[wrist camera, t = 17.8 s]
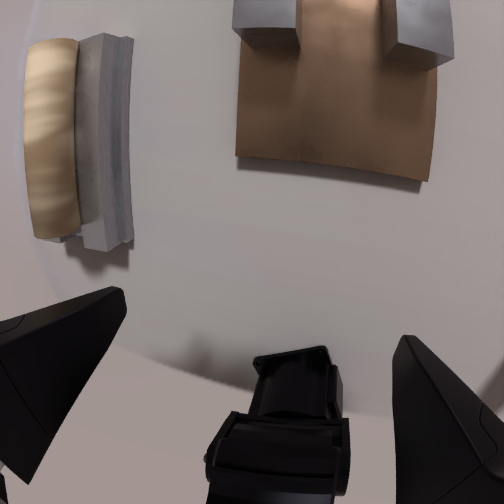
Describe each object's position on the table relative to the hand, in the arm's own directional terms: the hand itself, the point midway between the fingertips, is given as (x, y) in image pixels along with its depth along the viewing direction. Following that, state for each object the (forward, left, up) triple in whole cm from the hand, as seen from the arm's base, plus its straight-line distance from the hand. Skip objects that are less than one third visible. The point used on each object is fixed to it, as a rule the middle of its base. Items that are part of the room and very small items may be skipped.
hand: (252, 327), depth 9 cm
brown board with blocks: (+8, +11, -12) cm, 18 cm away
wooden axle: (-13, +12, -10) cm, 20 cm away
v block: (-13, +11, -12) cm, 21 cm away
